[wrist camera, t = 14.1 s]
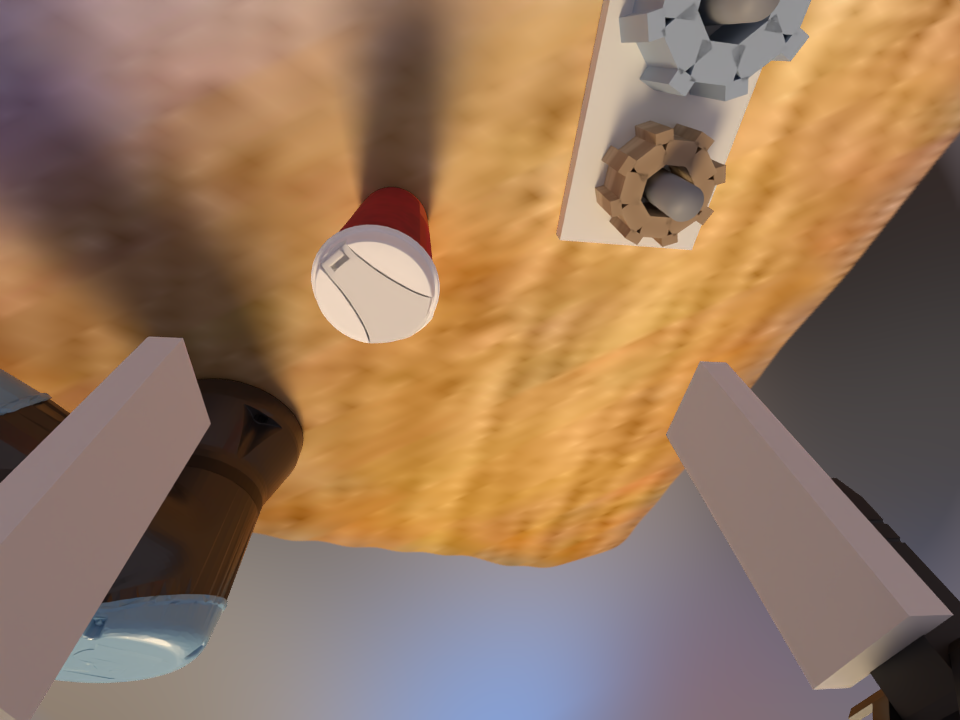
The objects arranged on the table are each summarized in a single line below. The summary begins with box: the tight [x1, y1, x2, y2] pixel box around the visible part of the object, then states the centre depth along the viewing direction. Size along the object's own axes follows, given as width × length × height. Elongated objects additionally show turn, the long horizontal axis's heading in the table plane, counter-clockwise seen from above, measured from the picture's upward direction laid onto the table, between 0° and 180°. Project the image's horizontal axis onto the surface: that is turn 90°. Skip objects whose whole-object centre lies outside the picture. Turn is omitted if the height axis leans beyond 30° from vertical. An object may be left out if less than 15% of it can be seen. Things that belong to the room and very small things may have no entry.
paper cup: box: [311, 187, 440, 343], centre depth 32 cm, size 8×8×14 cm
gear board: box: [556, 0, 780, 250], centre depth 30 cm, size 12×22×8 cm, turn 174°
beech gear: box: [595, 120, 726, 247], centre depth 34 cm, size 8×8×4 cm
